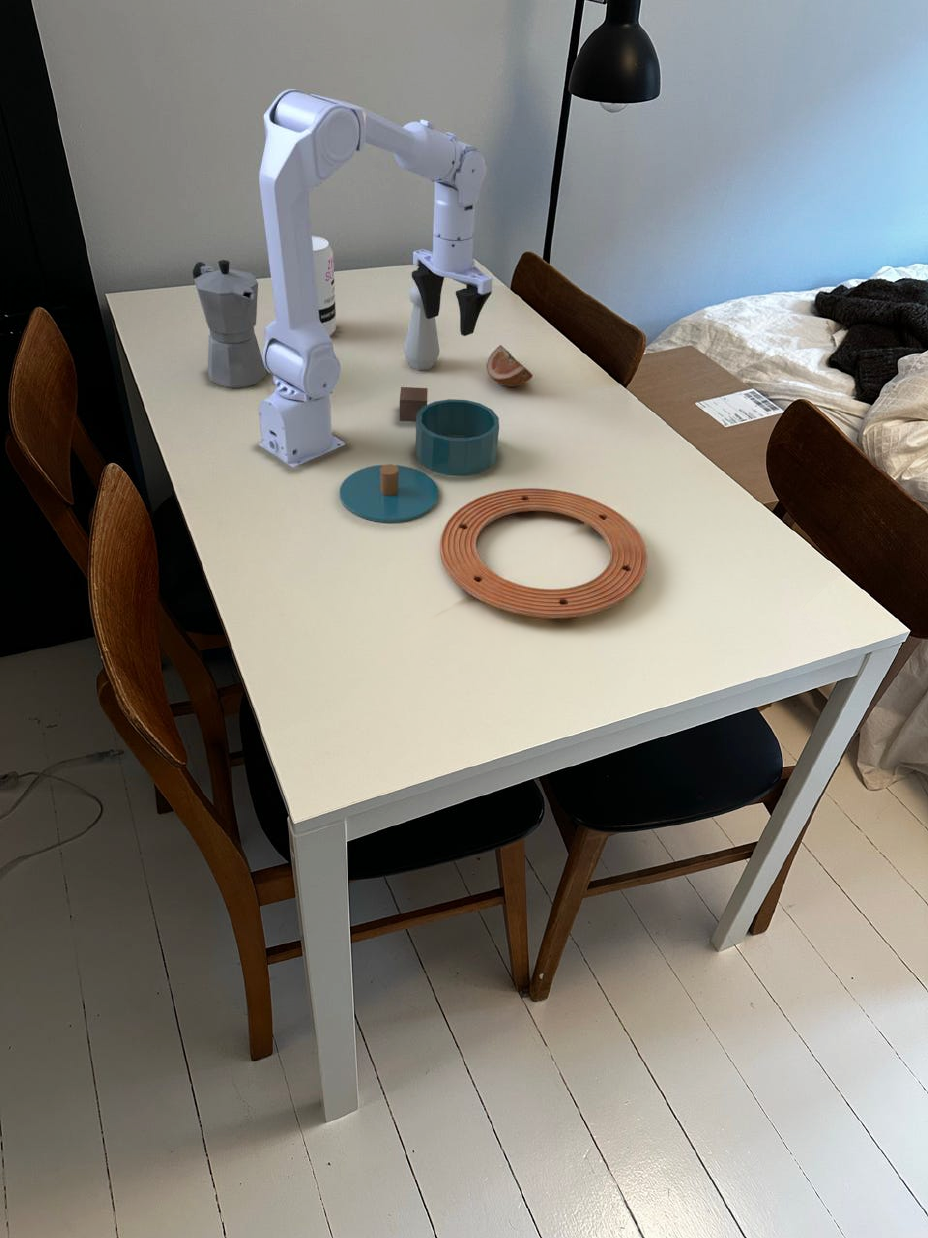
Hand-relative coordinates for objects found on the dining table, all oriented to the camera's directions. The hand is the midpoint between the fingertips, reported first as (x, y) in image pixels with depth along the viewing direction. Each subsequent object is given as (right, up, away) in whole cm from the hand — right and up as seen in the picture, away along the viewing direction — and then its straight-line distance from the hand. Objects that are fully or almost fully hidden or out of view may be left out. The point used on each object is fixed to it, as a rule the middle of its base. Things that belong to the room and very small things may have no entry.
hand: (449, 325), depth 141 cm
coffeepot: (-34, -6, +7) cm, 35 cm away
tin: (+1, -22, -9) cm, 24 cm away
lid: (-8, -28, -18) cm, 34 cm away
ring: (+12, -38, -26) cm, 47 cm away
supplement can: (-24, +5, +19) cm, 31 cm away
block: (-5, -14, -1) cm, 15 cm away
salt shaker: (-5, -3, +12) cm, 13 cm away
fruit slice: (+9, -7, +8) cm, 14 cm away
